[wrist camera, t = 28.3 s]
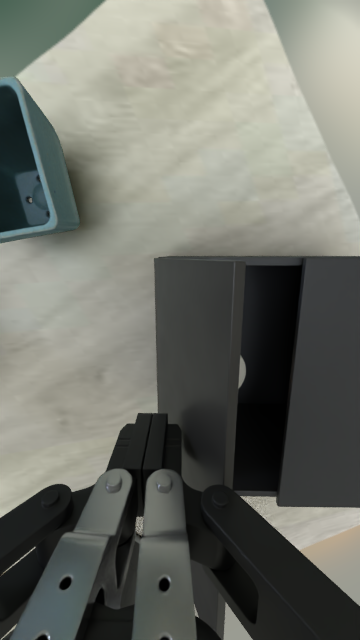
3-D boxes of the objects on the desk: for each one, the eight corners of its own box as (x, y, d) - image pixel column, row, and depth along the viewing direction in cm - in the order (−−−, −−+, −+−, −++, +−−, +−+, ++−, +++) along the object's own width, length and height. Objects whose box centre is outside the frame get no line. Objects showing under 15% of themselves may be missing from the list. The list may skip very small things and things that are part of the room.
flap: (222, 658, 11) (214, 663, 11) (165, 502, 18) (160, 504, 18) (246, 260, 7) (234, 260, 7) (160, 258, 14) (153, 258, 14)
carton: (307, 405, 30) (392, 508, 18) (171, 404, 31) (162, 505, 18) (327, 256, 26) (456, 256, 14) (169, 256, 26) (156, 257, 14)
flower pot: (18, 252, 27) (-63, 250, 18) (-12, 157, 24) (-120, 103, 16) (100, 237, 26) (59, 228, 17) (77, 139, 24) (17, 72, 15)
